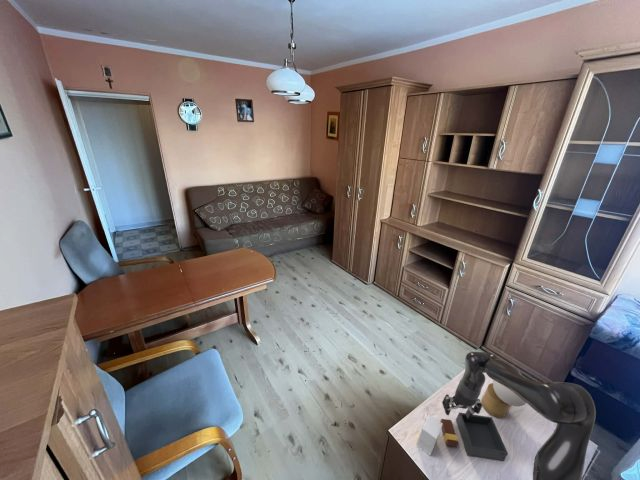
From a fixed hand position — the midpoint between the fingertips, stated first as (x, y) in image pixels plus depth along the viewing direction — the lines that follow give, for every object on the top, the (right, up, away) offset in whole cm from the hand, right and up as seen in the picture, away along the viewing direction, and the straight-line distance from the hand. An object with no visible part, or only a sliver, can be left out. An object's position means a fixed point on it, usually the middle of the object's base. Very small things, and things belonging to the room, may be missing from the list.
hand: (457, 414), depth 113 cm
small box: (-12, -15, +3) cm, 19 cm away
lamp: (+29, -10, +18) cm, 35 cm away
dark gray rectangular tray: (+12, -15, +5) cm, 20 cm away
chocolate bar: (-1, -13, +6) cm, 15 cm away
